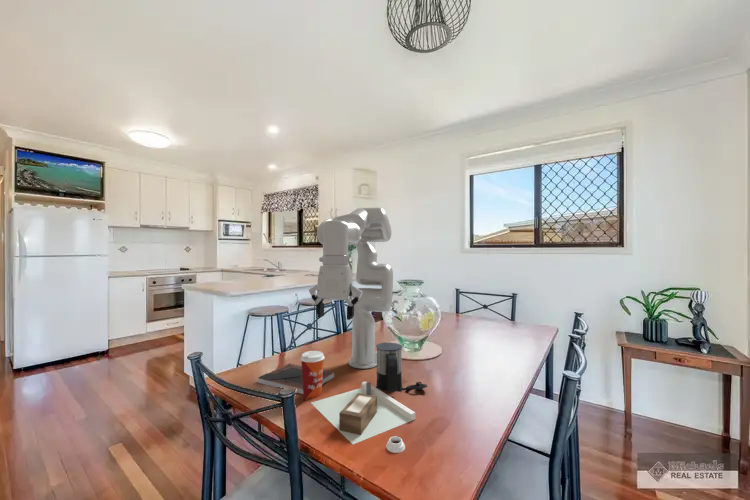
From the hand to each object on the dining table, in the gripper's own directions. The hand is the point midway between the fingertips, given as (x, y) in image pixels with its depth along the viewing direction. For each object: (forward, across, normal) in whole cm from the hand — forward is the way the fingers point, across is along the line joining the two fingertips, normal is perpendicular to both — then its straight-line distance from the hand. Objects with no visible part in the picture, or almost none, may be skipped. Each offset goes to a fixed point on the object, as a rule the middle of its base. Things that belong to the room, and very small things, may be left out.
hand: (335, 317), depth 96 cm
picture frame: (+28, -22, +14) cm, 38 cm away
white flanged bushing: (+28, +23, -15) cm, 39 cm away
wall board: (+27, +9, -2) cm, 29 cm away
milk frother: (+27, +16, +18) cm, 37 cm away
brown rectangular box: (+26, +10, -7) cm, 29 cm away
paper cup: (+27, -10, +4) cm, 29 cm away
